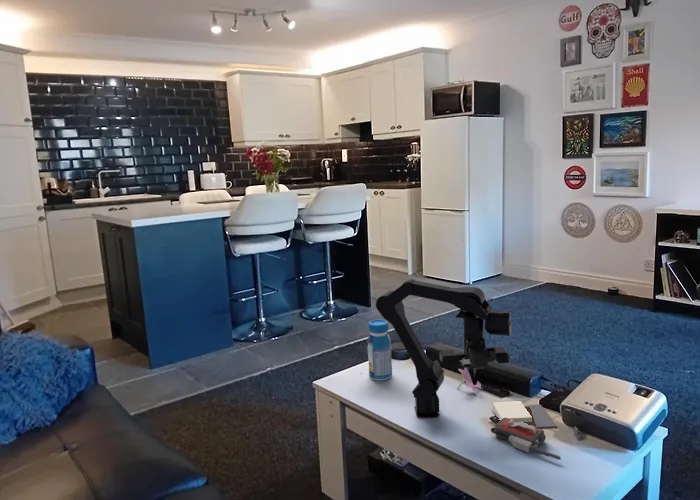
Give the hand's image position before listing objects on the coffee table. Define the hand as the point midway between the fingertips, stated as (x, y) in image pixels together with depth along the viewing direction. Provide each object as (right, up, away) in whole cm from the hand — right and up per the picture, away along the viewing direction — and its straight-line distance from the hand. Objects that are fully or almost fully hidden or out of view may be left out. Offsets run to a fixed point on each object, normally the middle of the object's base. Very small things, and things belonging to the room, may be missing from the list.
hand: (474, 384), depth 154 cm
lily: (+3, -7, +21) cm, 22 cm away
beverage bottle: (-25, -6, +36) cm, 44 cm away
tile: (+7, -9, +2) cm, 11 cm away
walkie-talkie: (+11, -13, -12) cm, 21 cm away
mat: (+15, -10, +2) cm, 18 cm away
